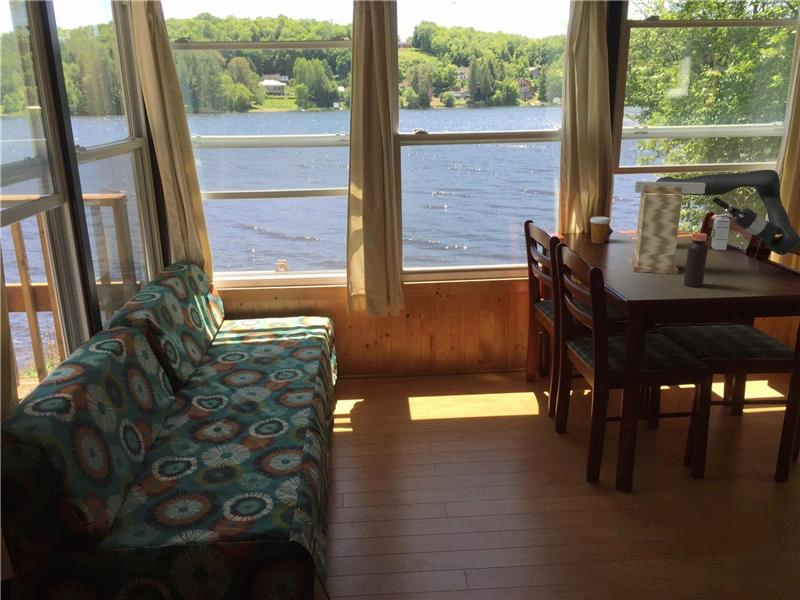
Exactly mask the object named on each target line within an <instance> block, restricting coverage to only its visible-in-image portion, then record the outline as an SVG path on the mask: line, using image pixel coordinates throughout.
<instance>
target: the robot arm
mask: <svg viewBox="0 0 800 600" xmlns="http://www.w3.org/2000/svg"><path fill="white" fill-rule="evenodd" d="M655 182H694V183H705V184H706V185H705V192H704V194H682V196H715V197H714V198H713V199H712V202H713V203H715V204H716V205H717V206H719V207H720V208H722V209H723V211H724V212H726V213H727V214H728V215H730V216H731V217H733V218H734V224H736V226H738V227H740V228H741V229H743V230H745V231H746V232H748V233H750V234H753V235H754V236H756V237H758V238H759V239H761V240H762V241H763V242H764V243H765V244H766V245H767V246H768V247H769V248H770V249H771V250H772V252H774V253H775V254H776V255H780V256H785V255H787V254H789V253H790V252H791V251H793V250H794V249H796V248H797V247H799V246H800V235H799V234H798V232H797V231H796V230H795V228H794V227H793V226H792V224H791V222H790V218H789V216H788V213H787V211H786V209H785V207H784V205H783V203H782V199H781V198H782V197H781V182H780V176H779V174H778V172H777V171H775V170H773V169H759V170H753V171H752V170H751V171H746V172H745V171H744V172H736V173H717V174H715V173H714V174H704V175H696V176H693V177H687V178H675V177H673V176H669V175H666V176H663V177H660V178H658V179H656V181H655ZM747 187H748V188H749V187H750V188H751V187H753V188H754V187H755V190H756V192H757V194H758V196H759V198H760V199H761V201H762V203H763V204H764V207H765V210H766V214H767V219H768V220H767V219H766V218H764V217H763V216H762V215H760V214H758V213H757V212H755V211H754V210H752V209H750V208H749V207H745V208H744V209H741V208H739V207H738V206H736V205H733V204H732V203H729V202H728V203H727V202H726V201H724V200H722V199H721V198H719V197H717V196H722V195H726V194H728V193H730V192H732V191H736V190H738V189H740V188H747ZM776 236H778V237H777V238H776Z"/></svg>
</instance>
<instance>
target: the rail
mask: <svg viewBox="0 0 800 600" xmlns="http://www.w3.org/2000/svg"><path fill="white" fill-rule="evenodd" d="M705 185H706V184H705V183H694V182H656V181H641V180H639V181H635V185H634V188H635V189H634V192H635V193H636V194H637V193H639V194H641V193H644V189H645V187H682V192H681V194H704V192H705Z"/></svg>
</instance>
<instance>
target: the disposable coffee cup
mask: <svg viewBox="0 0 800 600" xmlns="http://www.w3.org/2000/svg"><path fill="white" fill-rule="evenodd" d="M589 221H590V237H591V243H594V244H604V242H606V238H607V233H608V229H609V224H610V222H611V219H610V218H609V217H606V216H597V215H596V216H592V217H590V220H589Z"/></svg>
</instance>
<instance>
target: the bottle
mask: <svg viewBox="0 0 800 600" xmlns="http://www.w3.org/2000/svg"><path fill="white" fill-rule="evenodd" d="M707 237H708V234H707V233H704V232H693V233H692V239H691V240H692V243H691V244H689V245H688V247H687V248H688V249H687V255H686V257H687V258H686V263H685V271H684V279H683V284H684V285H685V286H687V287H690V286H691V288H701V287H703V286H704V280H705V279H704V278H705V271H706V266H707V265H706V264H707V257H708V246H707V245H706V242H707Z"/></svg>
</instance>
